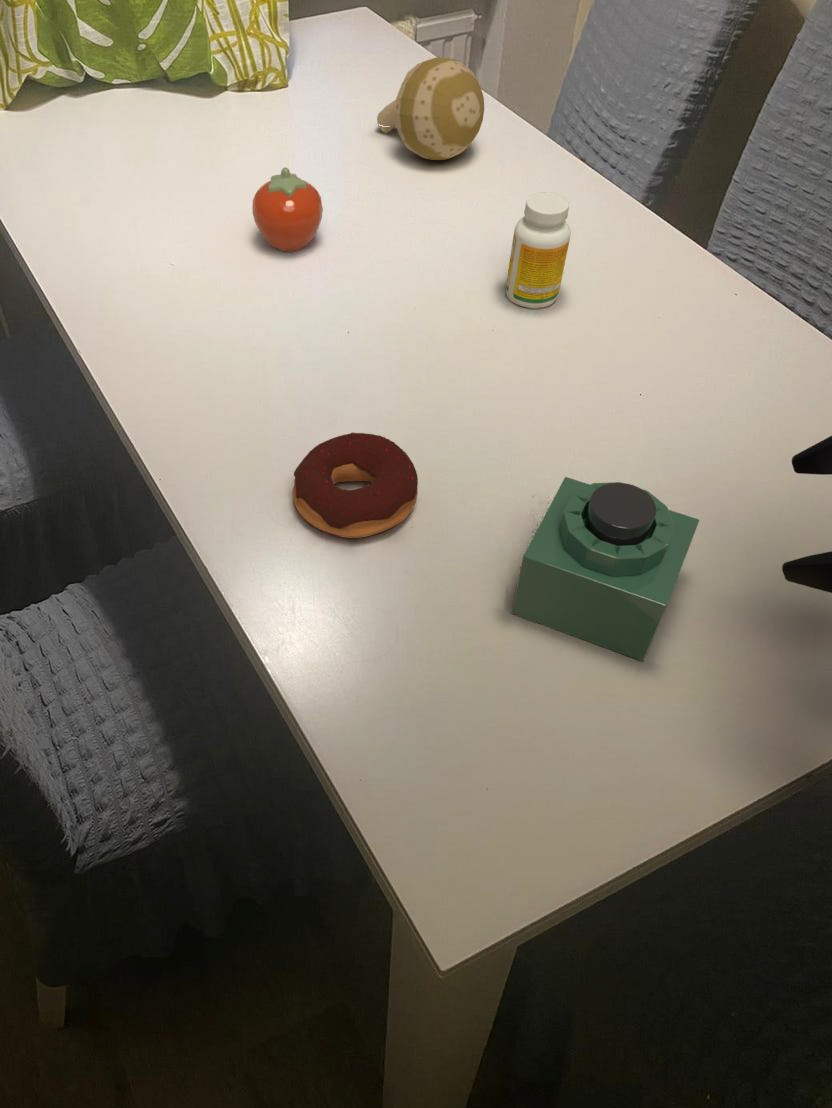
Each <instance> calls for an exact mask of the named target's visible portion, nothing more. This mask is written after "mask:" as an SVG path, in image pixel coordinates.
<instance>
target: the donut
mask: <svg viewBox="0 0 832 1108" xmlns="http://www.w3.org/2000/svg"><path fill="white" fill-rule="evenodd" d="M293 477H294V481H293V487H292V500H293V503H294V506H295V509H296V510H297V512H298V513H299V514H300V515H301V517H303V519H304V520H305V521H306V522H308V523H309V524H310V525H312V527H314V528H316V529H318V530H320V531H323V532H325V533H328V534H331V535H334V536H337V537H341V538H350V539H358V538H365V537H369V536H374V535H376V534H379V533H382V532H385V531H388V530H389V529H391V528H393V527H395V526H397V525H399V524H401V523H402V522H404V520H406V519H407V517H408V516H409V515H410V514H411V512H412V510H413V508H414V506H415V504H416V502H417V498H418V485H419V481H418V480H419V478H418V473H417V470H416V467H415V464H414V463H413V461H412V459H411V458H410V456H409V454H408V452H406V451H404V450H403V448H401V447H400V446H399V445H398V444H397V443H395V441H393V440H390V439H389V438H387V437H385V436H382V435H379V434H378V435H377V434H373V433H364V432H353V431H352V432H350V433H348V434H347V433H345V434H341V435H338V436H336V437H334V436H333V437H332V438H330V439H327V440H325V441H323V442H321V443H319V444H317V445H316V446H314V447H313V448H312V449H311V450H309V452H308V453H307V454H306V455H305V456H304V457H303V459H302V460H301V462H299V464H298V465H297V467H296V468H295V469H294V472H293ZM360 481H361V482H369V483H371V484H368V485H366V486H362V487H359V488H355V489H345V488H340V487H338V486H337V485H335V484H337V483H342V482H360Z"/></svg>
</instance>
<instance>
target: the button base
mask: <svg viewBox="0 0 832 1108" xmlns="http://www.w3.org/2000/svg"><path fill="white" fill-rule="evenodd" d="M609 483H623V482H621V481H613V482H593V483H587V482H584V481H580V480H577V479H574V478H571V477H568V476H565V477H564V479H563V480H562V482H561V483H560V485H559V487H558V489H557V491H556V493H555V495H554V497H553V499H552V501H551V502H550V505H549V507H548V509H547V511H546V512H545V514H544V516H543V518H542V519H541V522H540V524H539V525H538V527H537V529H536V531H535V533H534V534H533V537H532V539H531V541H530V543H528V546H527V548H526V550H525V551H524V554H523V556H522V561H521V565H520V570H519V575H518V580H517V584H516V589H515V593H514V599H513V603H512V607H511V611H510V612H511V614H513V615H515V616H518V617H521V618H524V619H527V620H529V621H531V622H535V623H538V624H540V625H543V626H545V627H549V628H551V629H553V630H556V631H559V632H562V633H565V634H567V635H570V636H573V637H575V638H578V639H581V640H584V641H587V642H589V643H592V644H594V645H596V646H600V647H603V648H606V649H608V650H611V651H613V652H616V653H619V654H622V655H623V656H624V655H625V656H627V657H631V658H633V659H635V660H637V661H641V662H644V661H645V659H646V657H647V654H648V652H649V649H650V647H651V646H652V645H651V644H652V643H653V640H654V637H655V635H656V633H657V631H658V628H659V626H660V623H661V621H662V619H663V616H664V614H665V612H666V609H667V607H668V604H669V602H670V599H671V596H672V594H673V591H674V589H675V586H676V583H677V581H678V578H679V576H680V572H681V571H682V567H683V565H684V561H686V560H685V559H686V557H687V554H688V551H689V549H690V547H691V544H692V541H693V538H694V535H695V533H696V530H697V529H698V525H699V523H700V519H699V518H697V517H694V516H693V517H692V516H690V515H686V514H683V513H680V512H677V511H674V510H671V509H669V508H668V505H666V504H664V502H663V501H661V500H660V499H659V498H657V497H656V496H655V495H654V494H652V493H651V492H650V491H648V490H647V489H643V488H641V489H642V490H644V491H645V492H647V493H648V494H649V495H650V496H651V497H652V498H653V500H654V502H655V504H656V515H655V518H654V521H653V524H652V526H651V529H650V532H649V534H648V536H647V537H646V538H645V539H644V540H643V541H642V542H640V543H638V544H635V545H624V546H617V545H614V544H611V543H608V542H605V541H602V540H599V539H598V538H597V537H595V536H594V535H593V534H592V533H591V532H590V531H589V530H588V528H587V526H586V522H585V517H586V513H587V509H588V505H589V502H590V498H591V495H592V494H593V492H594V491H595V490H596V489H597V488H599V487H601V486H603V485H605V484H609Z"/></svg>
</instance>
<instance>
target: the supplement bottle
mask: <svg viewBox="0 0 832 1108" xmlns="http://www.w3.org/2000/svg"><path fill="white" fill-rule="evenodd" d="M569 210H570V201H569V200H568V199H567V198H566V197H565V196H564V195H561V194H558V193H555V192H549V191H548V192H547V191H546V192H545V191H544V192H537V193H533V194H531V195H530V196H528V197H527V199H526V202H525V206H524V210H523V211H524V212H523V215H524V216H522V217H521V218H520V219H519V220H518V221H517V222H516V224H515V227H514V232H513V237H512V241H511V242H512V243H511V250H510V255H509V263H508V269H507V276H506V284H505V294H506V296H507V298H508V299H509V300H510V301H511V302H512V303H514V304H515V305H518V306H520V307H524V308H527V309H542V308H546V307H549V306H551V305H552V304H554V303H555V302H556V300H557V299H558V298H559V294H560V289H561V285H562V279H563V274H564V270H565V265H566V259H567V256H568V255H567V254H568V250H569V246H570V241H571V236H572V235H571V227H570V224H568V222H567V221H566V220H567V219H568V216H569Z"/></svg>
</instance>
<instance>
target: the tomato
mask: <svg viewBox="0 0 832 1108" xmlns="http://www.w3.org/2000/svg"><path fill="white" fill-rule="evenodd" d="M251 206H252V208H251V209H252V216H253V220H254V223H255V225H256V229H258V232H259V234H261V236H262V238H263V239H264V240H265V241H266V243H267V244H269V245H270V246H271V247H273V248H274V249H276V250H279V251H281V252H286V253H295V252H298V251H301V250H303V249H304V248H306V247H307V245H309V244H310V243H311V241H312V240H313V238H314V237H315V236H316V234H317V232H318V230H319V228H320V225H321V223H322V218H323V213H324V212H323V211H324V208H323V202H322V196H321V195H320V192H319V191H318V190H317V189H316V188H315V186H313V185H312V184H311V183H309V182H308V181H306V180H303V179H302V178H300V177H299V176H298V175H297V174H296V173H292V172H291V171H290V169H289V168H288V167H283V168H282V169H281V171H280V174H275V175H271V177H270V180H269V181H267V182H265V183H263V184H262V185H261V186H260V187H259V188H258V189H257V190H256V192H255V194H254V196H253V199H252V205H251Z"/></svg>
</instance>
